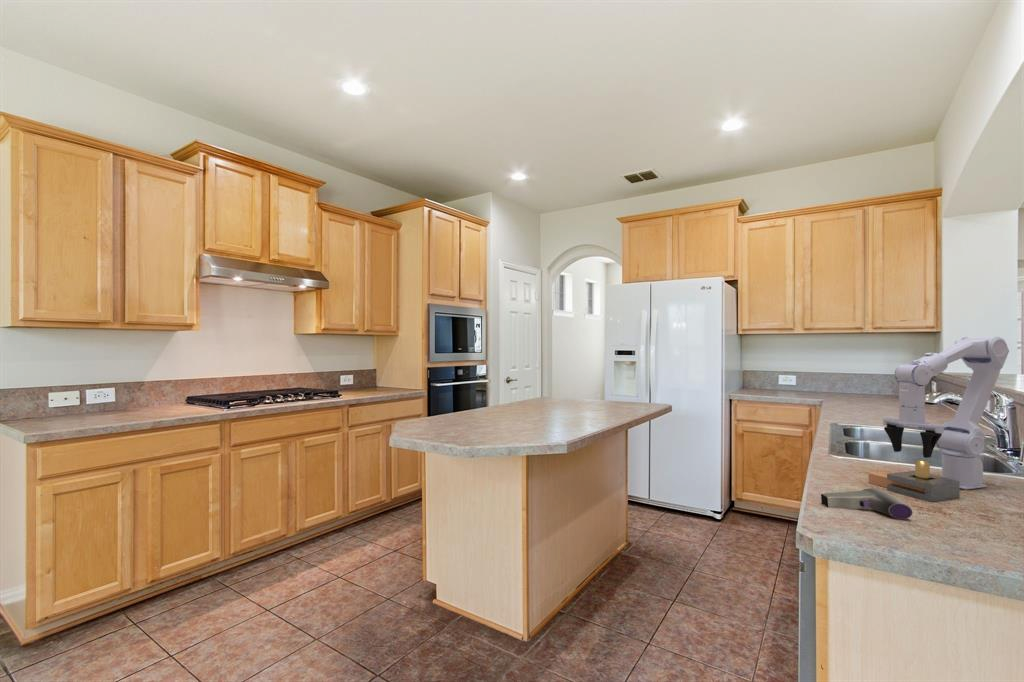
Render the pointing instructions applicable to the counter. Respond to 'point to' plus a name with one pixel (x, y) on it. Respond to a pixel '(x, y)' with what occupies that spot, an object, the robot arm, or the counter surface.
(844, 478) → the counter surface
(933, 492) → the bracket
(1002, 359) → the robot arm
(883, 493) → the infrared thermometer
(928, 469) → the brass pin
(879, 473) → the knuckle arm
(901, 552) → the counter surface
